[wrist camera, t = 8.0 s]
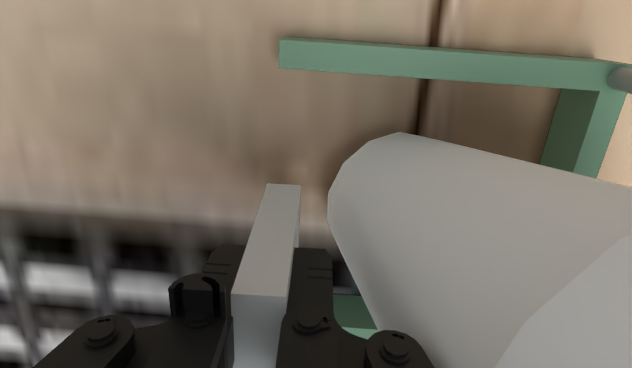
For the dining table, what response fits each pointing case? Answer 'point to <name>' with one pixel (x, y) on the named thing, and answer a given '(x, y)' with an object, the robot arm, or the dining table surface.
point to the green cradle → (485, 67)
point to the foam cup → (487, 254)
